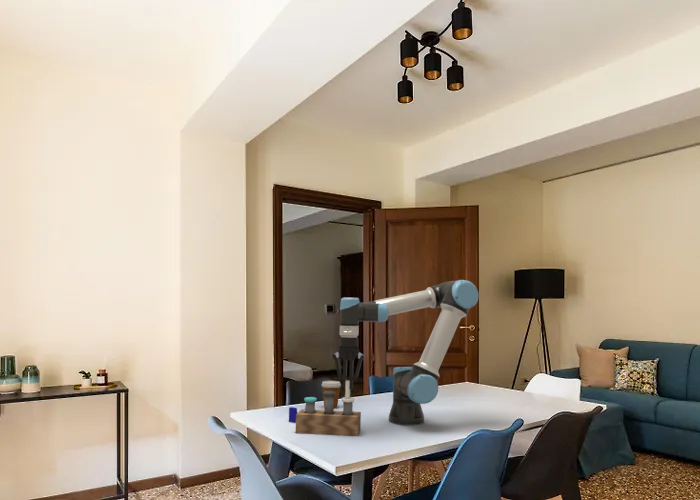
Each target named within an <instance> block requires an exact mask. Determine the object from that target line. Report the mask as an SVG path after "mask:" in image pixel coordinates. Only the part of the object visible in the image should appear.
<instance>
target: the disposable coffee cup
mask: <svg viewBox="0 0 700 500" xmlns="http://www.w3.org/2000/svg"><path fill="white" fill-rule="evenodd" d="M341 386H342V384H341V382H340V381H337V380H323V381H322V382H321V388H322V393H323V392H325V391H334V392H335V396H334V409H338V404H339V395H340V389H341ZM322 398H323V399H322V400H323V406H324V405H325V396H323V395H322Z"/></svg>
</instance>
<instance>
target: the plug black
mask: <svg viewBox="0 0 700 500" xmlns="http://www.w3.org/2000/svg"><path fill="white" fill-rule="evenodd" d="M323 396H325V405H324V404H323V407H324V409H323V410H324V414H333V413H334V411H335V410H334V396H335V392H334V391H325V392H323V391H322V397H323Z"/></svg>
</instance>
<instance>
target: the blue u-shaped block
mask: <svg viewBox="0 0 700 500" xmlns="http://www.w3.org/2000/svg"><path fill="white" fill-rule="evenodd" d="M304 406H305V407H304V409H306V405H304ZM297 413H298V407H294V406H291V407H288V423H293V424H296V414H297Z"/></svg>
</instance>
